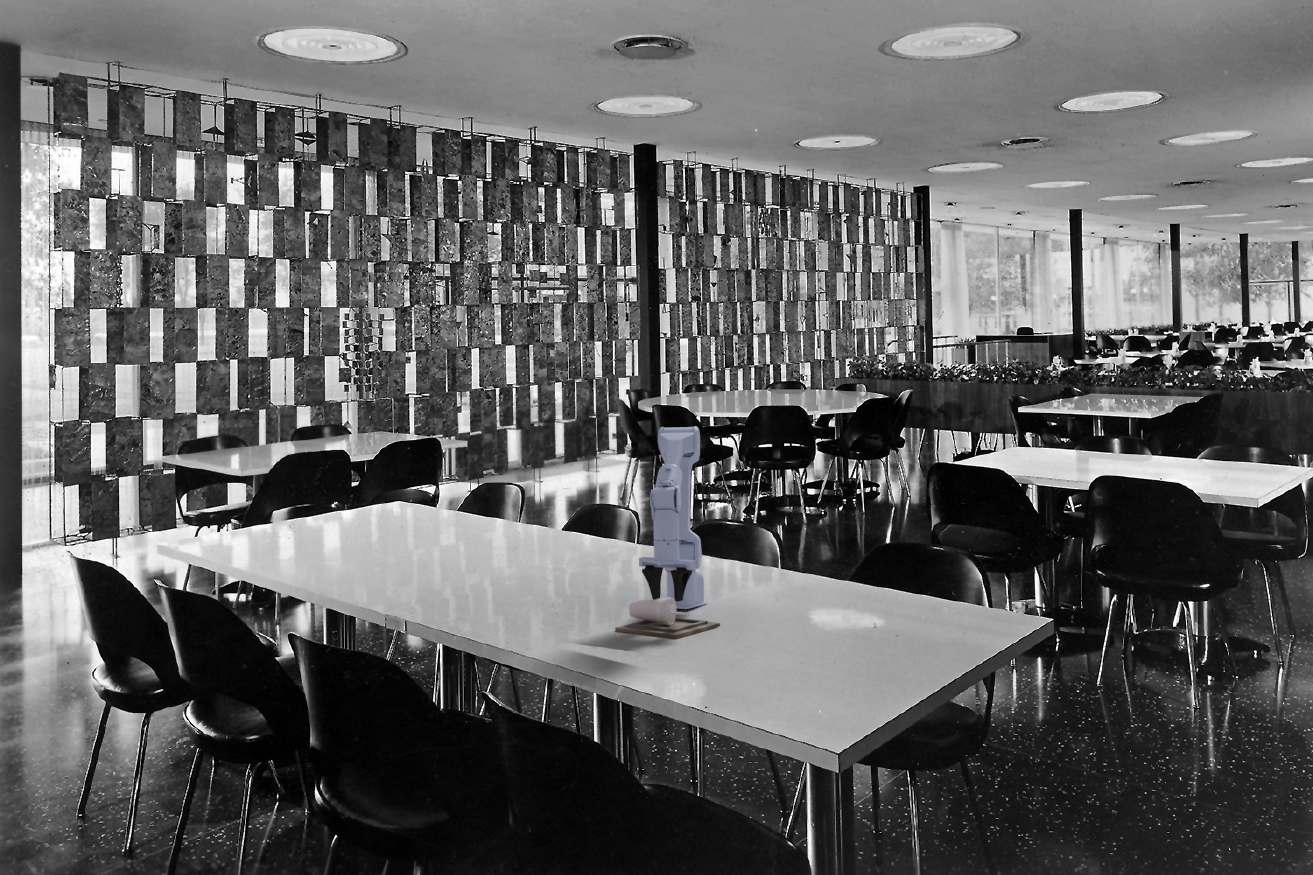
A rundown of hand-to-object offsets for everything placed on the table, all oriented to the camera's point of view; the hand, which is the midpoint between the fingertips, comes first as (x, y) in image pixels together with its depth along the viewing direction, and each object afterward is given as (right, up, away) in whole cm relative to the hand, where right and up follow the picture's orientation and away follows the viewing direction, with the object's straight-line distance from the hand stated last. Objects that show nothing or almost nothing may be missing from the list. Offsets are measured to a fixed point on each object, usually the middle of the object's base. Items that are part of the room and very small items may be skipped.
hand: (667, 599), depth 238 cm
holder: (0, -7, 0) cm, 7 cm away
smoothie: (-8, -3, +4) cm, 9 cm away
